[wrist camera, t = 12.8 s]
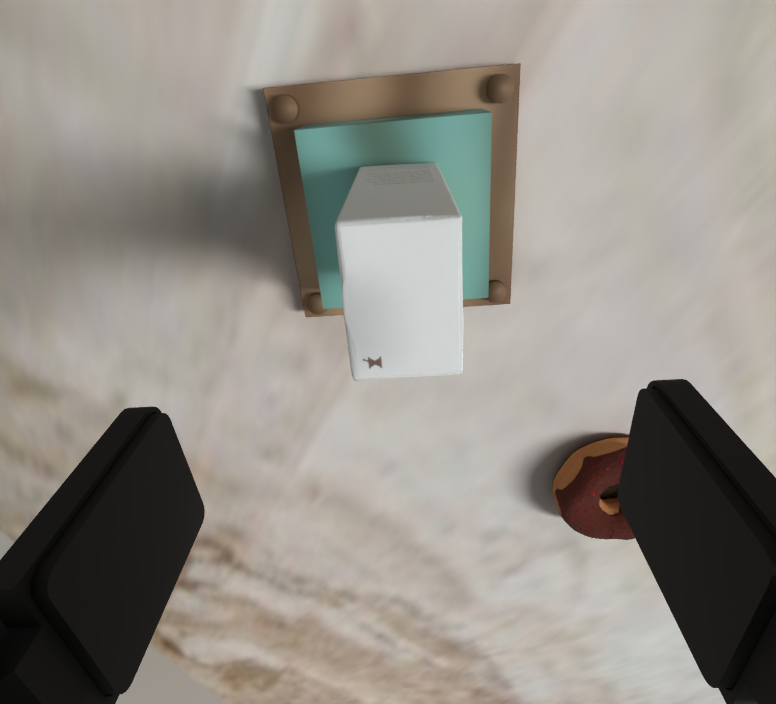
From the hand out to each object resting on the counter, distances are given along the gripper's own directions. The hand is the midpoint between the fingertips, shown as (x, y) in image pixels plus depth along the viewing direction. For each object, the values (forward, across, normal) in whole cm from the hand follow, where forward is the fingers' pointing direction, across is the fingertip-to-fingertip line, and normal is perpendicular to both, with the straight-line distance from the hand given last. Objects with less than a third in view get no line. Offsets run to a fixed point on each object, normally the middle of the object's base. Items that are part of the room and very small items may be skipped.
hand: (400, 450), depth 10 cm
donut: (+24, -16, +25) cm, 38 cm away
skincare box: (+20, 0, 0) cm, 20 cm away
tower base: (+24, 0, +1) cm, 24 cm away
